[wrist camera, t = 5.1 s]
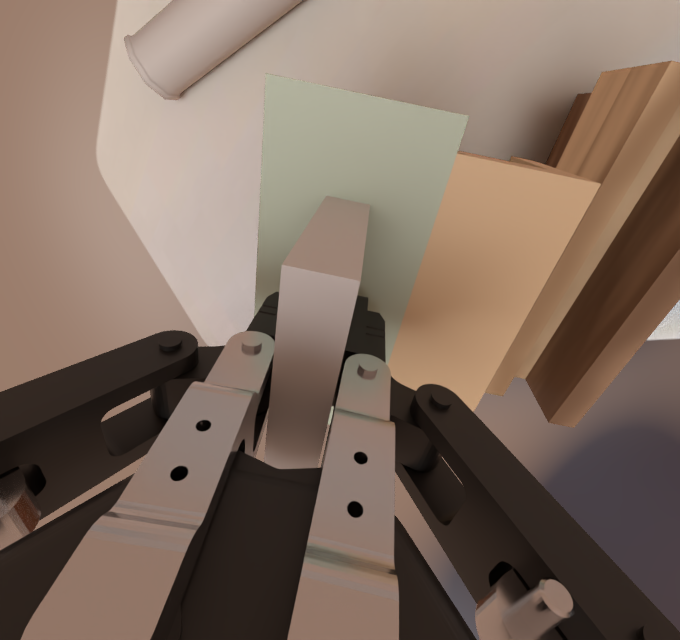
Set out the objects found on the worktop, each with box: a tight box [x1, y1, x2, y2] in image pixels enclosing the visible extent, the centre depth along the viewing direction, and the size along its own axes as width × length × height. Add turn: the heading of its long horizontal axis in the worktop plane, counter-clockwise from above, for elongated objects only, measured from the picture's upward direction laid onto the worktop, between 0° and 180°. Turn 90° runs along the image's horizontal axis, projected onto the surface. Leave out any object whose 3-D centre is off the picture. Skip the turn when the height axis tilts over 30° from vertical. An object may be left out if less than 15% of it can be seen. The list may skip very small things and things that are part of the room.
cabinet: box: [254, 73, 601, 469], centre depth 15 cm, size 10×14×16 cm
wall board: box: [485, 61, 680, 428], centre depth 29 cm, size 12×22×20 cm, turn 170°
